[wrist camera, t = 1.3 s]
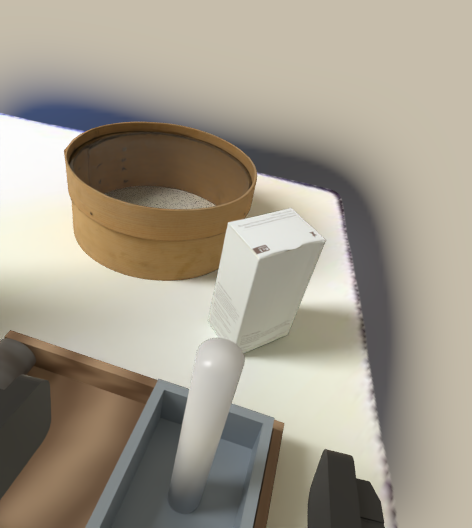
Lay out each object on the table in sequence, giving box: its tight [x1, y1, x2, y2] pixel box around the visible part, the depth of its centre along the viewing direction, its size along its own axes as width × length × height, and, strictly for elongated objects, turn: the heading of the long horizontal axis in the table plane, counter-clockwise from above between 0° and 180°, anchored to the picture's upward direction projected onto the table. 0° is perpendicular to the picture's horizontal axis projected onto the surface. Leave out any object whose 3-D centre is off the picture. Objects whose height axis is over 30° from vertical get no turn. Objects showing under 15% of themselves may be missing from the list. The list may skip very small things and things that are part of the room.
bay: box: [0, 330, 284, 528], centre depth 32 cm, size 26×15×5 cm, turn 76°
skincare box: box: [208, 208, 326, 353], centre depth 44 cm, size 8×6×15 cm
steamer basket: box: [64, 122, 257, 281], centre depth 59 cm, size 25×25×11 cm
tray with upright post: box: [85, 338, 274, 528], centre depth 27 cm, size 10×12×18 cm
